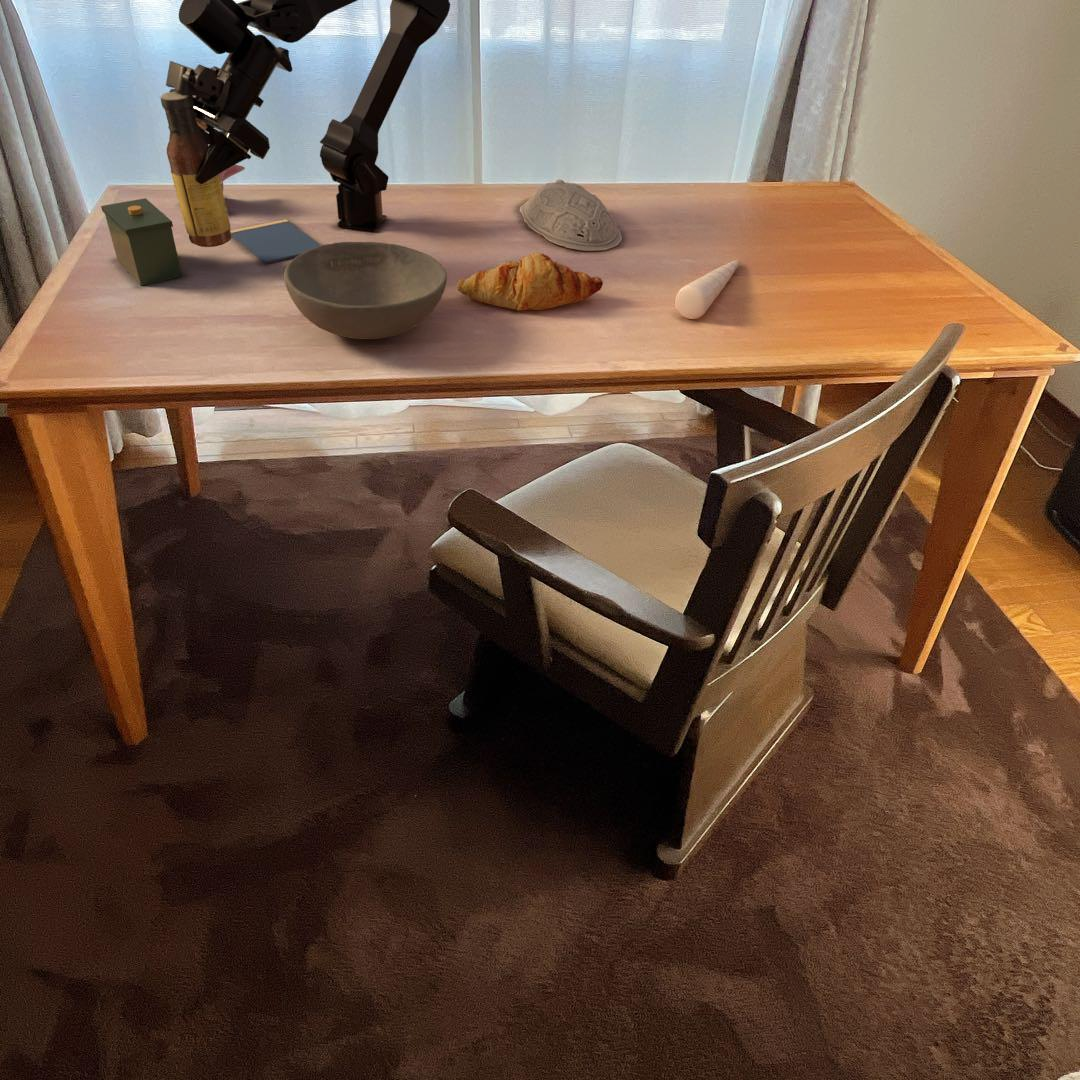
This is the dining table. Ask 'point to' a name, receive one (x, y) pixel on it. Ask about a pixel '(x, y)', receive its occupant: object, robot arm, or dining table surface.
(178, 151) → the sauce bottle
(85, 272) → the dining table surface
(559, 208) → the grey domed shell
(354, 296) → the bowl
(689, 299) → the unicorn horn
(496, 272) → the croissant
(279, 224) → the blue book
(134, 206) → the tin box
